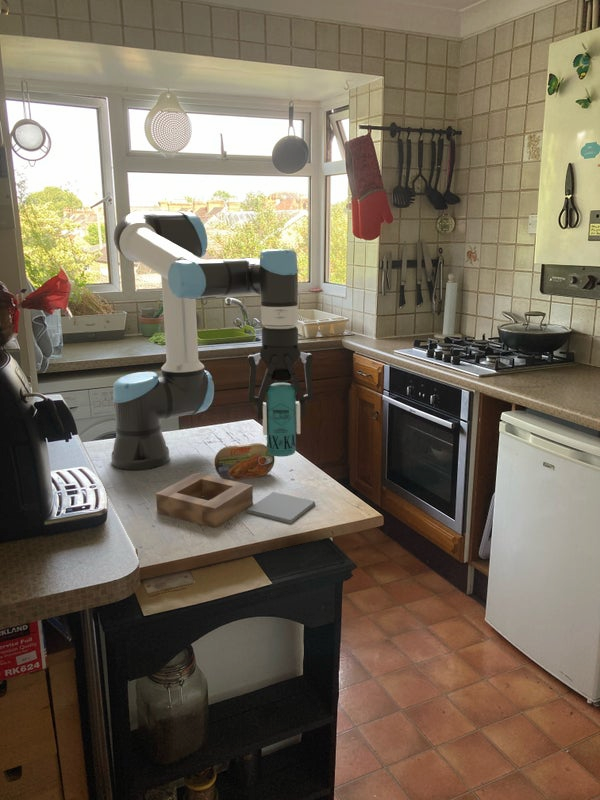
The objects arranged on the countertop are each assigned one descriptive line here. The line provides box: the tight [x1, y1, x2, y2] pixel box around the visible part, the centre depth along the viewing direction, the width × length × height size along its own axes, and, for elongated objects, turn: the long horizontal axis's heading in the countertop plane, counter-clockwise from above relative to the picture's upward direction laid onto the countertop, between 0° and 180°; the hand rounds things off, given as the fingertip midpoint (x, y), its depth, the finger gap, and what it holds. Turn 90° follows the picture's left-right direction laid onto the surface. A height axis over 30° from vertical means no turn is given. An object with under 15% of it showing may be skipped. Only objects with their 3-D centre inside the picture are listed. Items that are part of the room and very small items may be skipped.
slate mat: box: [246, 491, 316, 524], centre depth 141 cm, size 11×11×1 cm
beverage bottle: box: [265, 370, 297, 457], centre depth 135 cm, size 6×7×20 cm
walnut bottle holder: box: [155, 472, 254, 529], centre depth 141 cm, size 16×14×4 cm
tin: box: [214, 442, 276, 481], centre depth 159 cm, size 15×3×8 cm, turn 105°
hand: (281, 432), depth 136 cm, fingers closed on beverage bottle, 6 cm apart
